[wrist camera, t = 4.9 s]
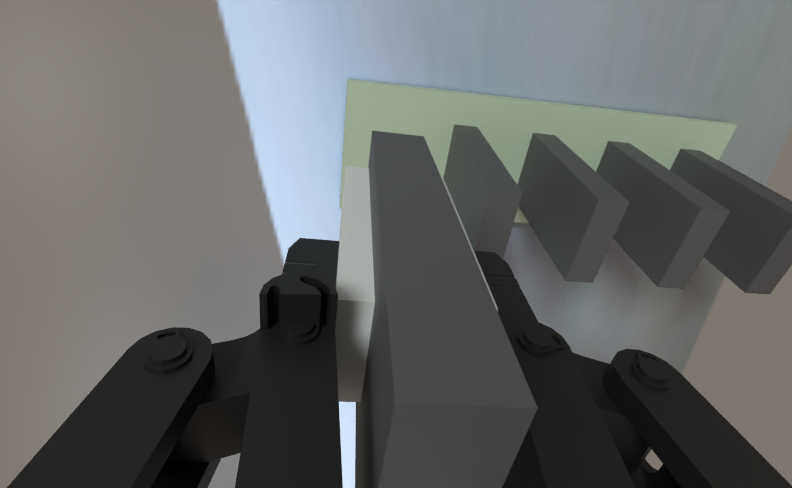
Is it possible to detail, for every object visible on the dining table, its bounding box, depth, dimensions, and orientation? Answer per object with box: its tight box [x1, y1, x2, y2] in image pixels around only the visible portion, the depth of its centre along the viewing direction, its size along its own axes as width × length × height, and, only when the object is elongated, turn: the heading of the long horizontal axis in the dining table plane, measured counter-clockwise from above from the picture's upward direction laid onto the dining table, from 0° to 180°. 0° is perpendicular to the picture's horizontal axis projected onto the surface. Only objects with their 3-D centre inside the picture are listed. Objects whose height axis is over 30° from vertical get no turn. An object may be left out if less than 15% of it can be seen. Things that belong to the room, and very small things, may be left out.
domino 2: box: [355, 130, 538, 488], centre depth 10 cm, size 5×2×10 cm, turn 172°
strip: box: [340, 79, 737, 224], centre depth 31 cm, size 9×27×1 cm, turn 83°
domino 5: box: [670, 149, 792, 294], centre depth 28 cm, size 5×2×10 cm, turn 173°
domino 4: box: [596, 141, 730, 289], centre depth 27 cm, size 5×2×10 cm, turn 173°
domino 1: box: [444, 124, 523, 258], centre depth 26 cm, size 5×2×10 cm, turn 173°
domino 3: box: [517, 133, 630, 283], centre depth 27 cm, size 5×2×10 cm, turn 173°
